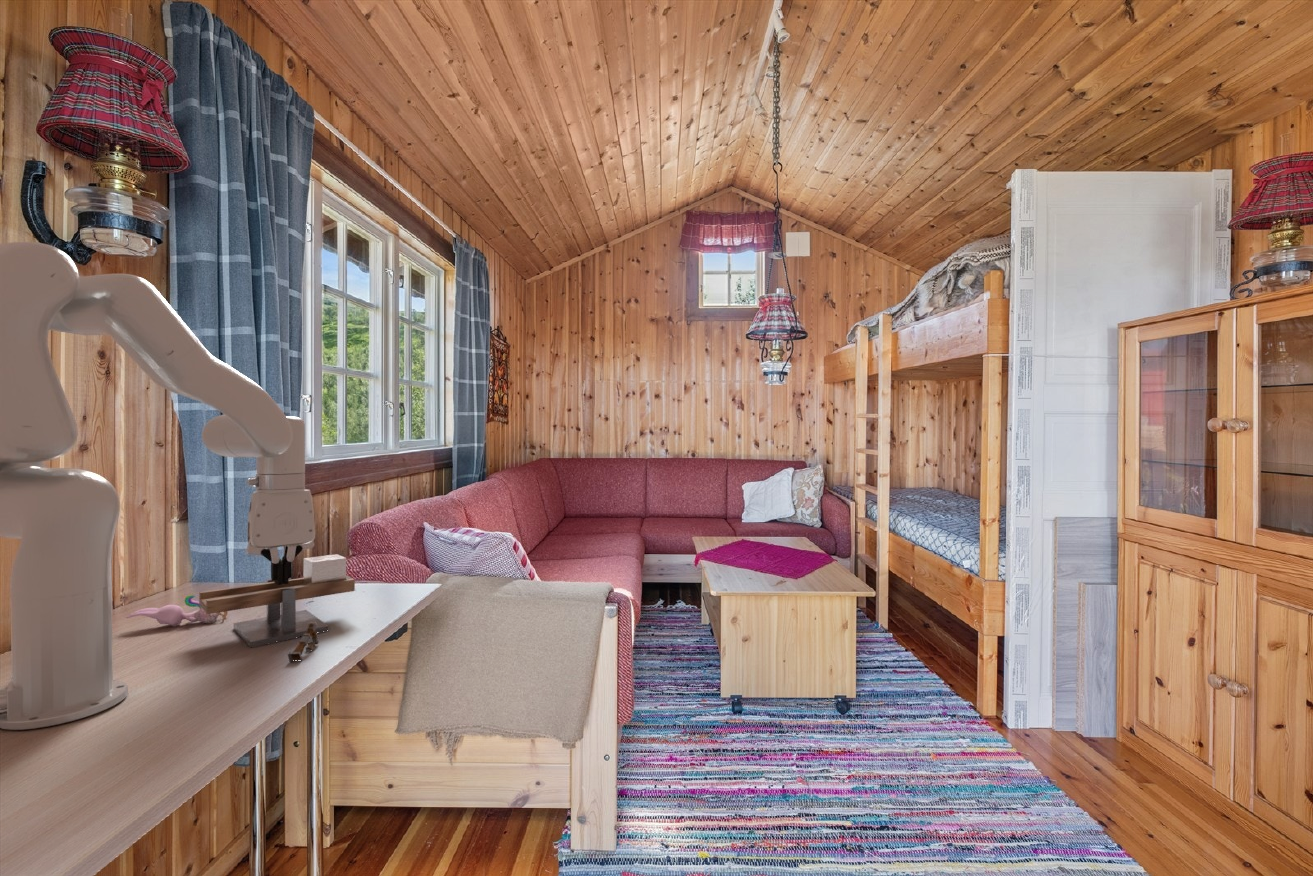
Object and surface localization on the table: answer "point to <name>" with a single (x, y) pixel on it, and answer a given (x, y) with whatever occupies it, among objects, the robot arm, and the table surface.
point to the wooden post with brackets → (305, 642)
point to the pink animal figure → (178, 613)
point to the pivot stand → (278, 622)
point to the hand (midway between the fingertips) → (281, 583)
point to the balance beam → (267, 594)
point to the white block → (324, 569)
